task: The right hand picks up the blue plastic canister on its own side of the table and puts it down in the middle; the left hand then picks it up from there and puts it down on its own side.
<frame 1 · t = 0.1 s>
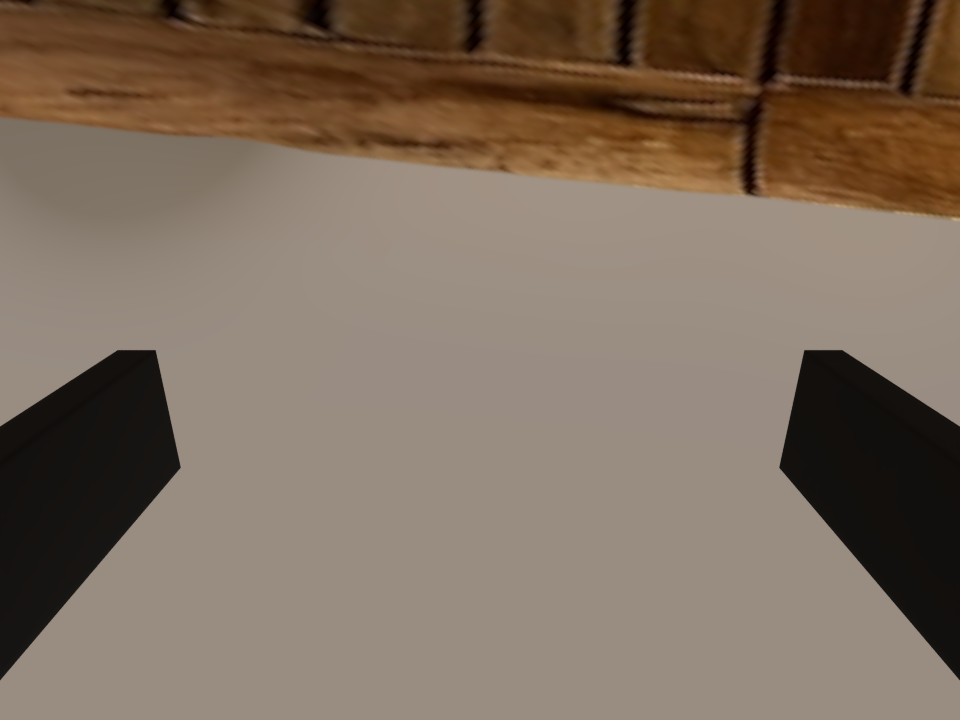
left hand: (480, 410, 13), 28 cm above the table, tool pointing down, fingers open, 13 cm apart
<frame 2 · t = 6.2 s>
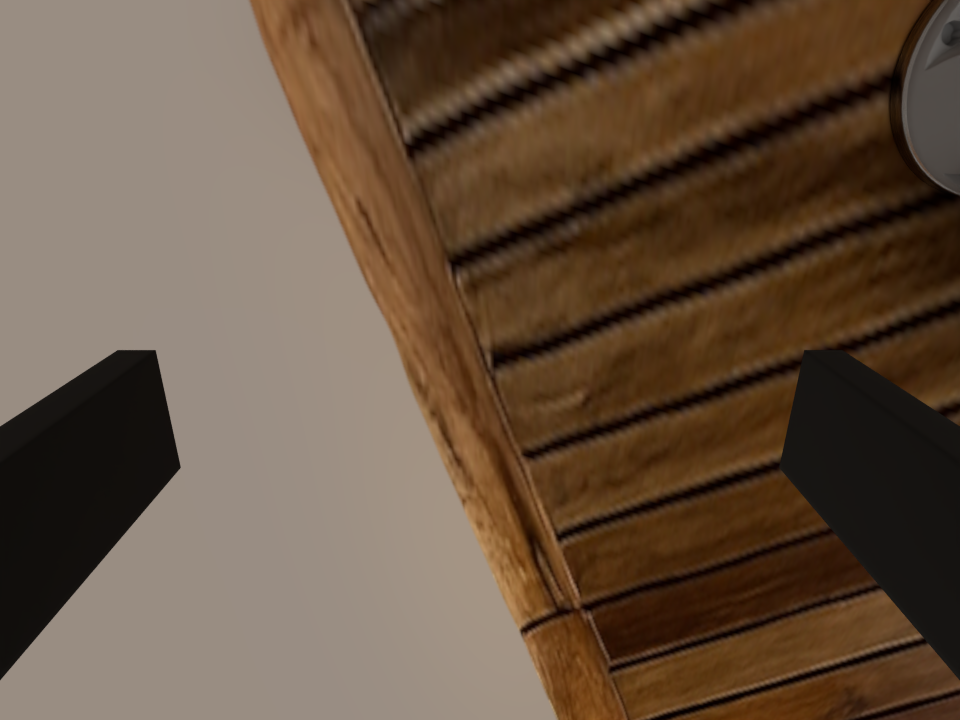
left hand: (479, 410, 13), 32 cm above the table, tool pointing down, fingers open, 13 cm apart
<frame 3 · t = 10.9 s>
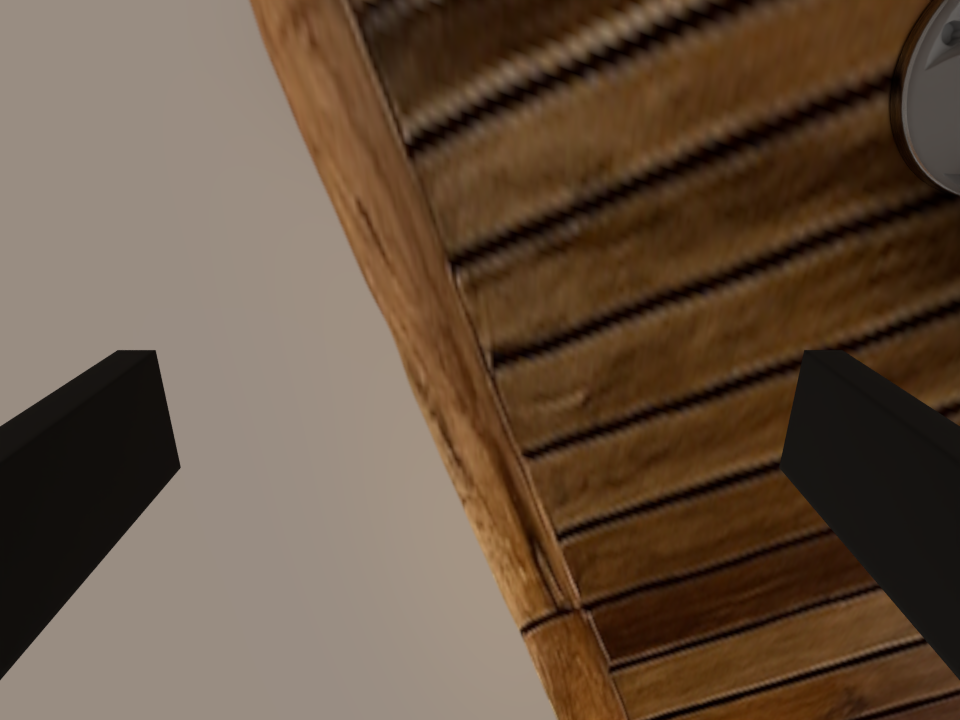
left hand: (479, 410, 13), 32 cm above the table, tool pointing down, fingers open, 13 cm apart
when the right hand's fingers open (4 cm above the table, at t = 15.5 s): canister drops 1 cm, on the table.
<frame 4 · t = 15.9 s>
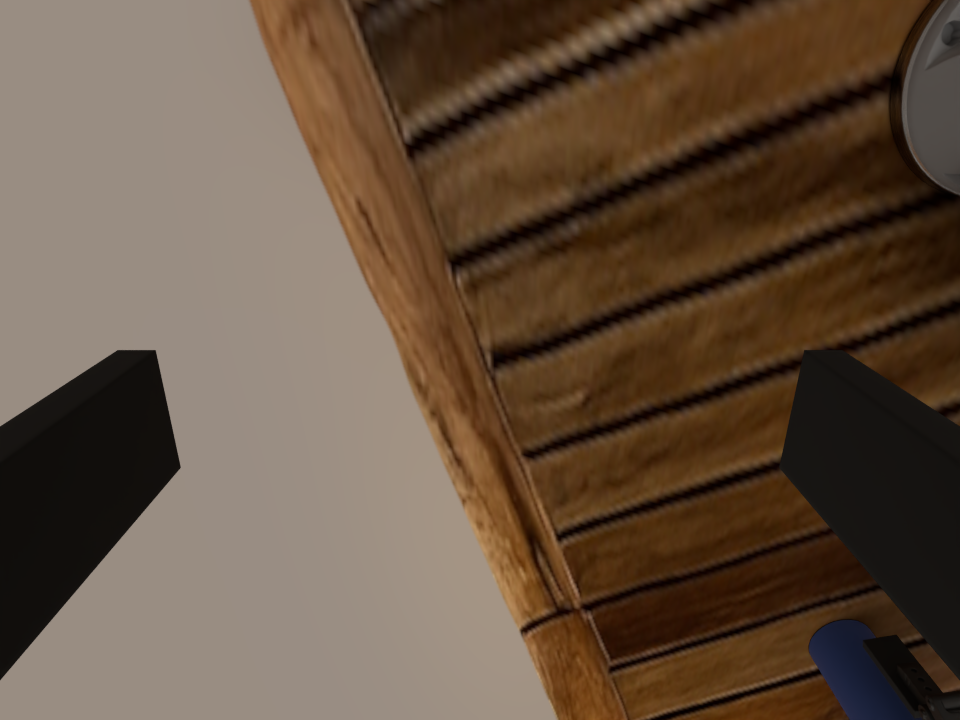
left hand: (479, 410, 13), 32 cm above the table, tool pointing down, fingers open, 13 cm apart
canister: (840, 643, 58), on the table
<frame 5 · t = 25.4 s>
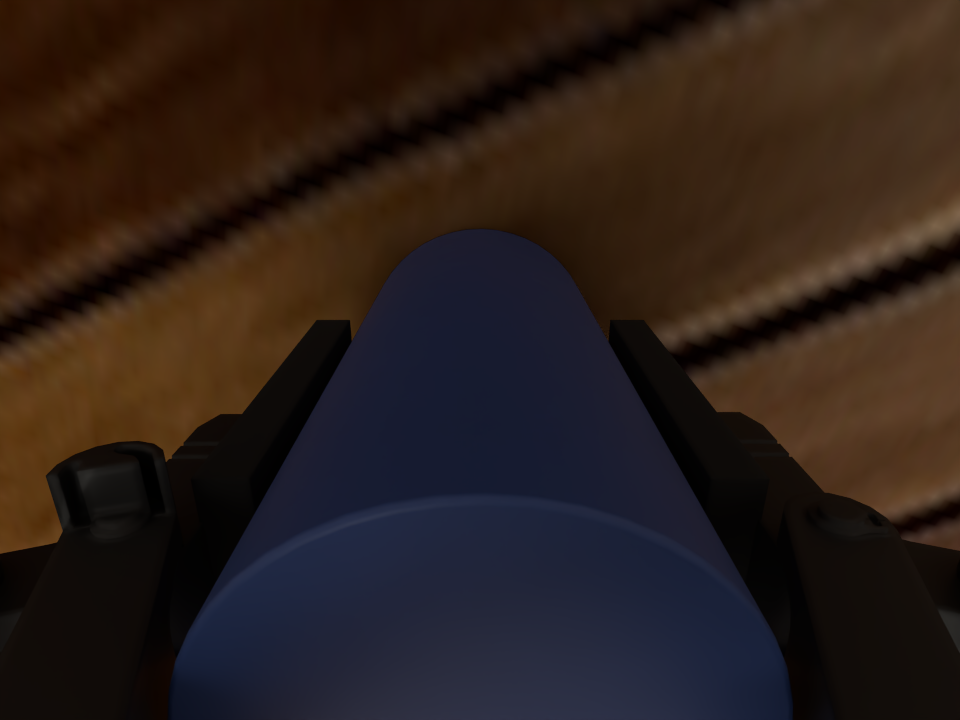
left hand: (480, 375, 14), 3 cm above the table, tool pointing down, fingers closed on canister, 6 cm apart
canister: (479, 336, 17), on the table, touching left hand
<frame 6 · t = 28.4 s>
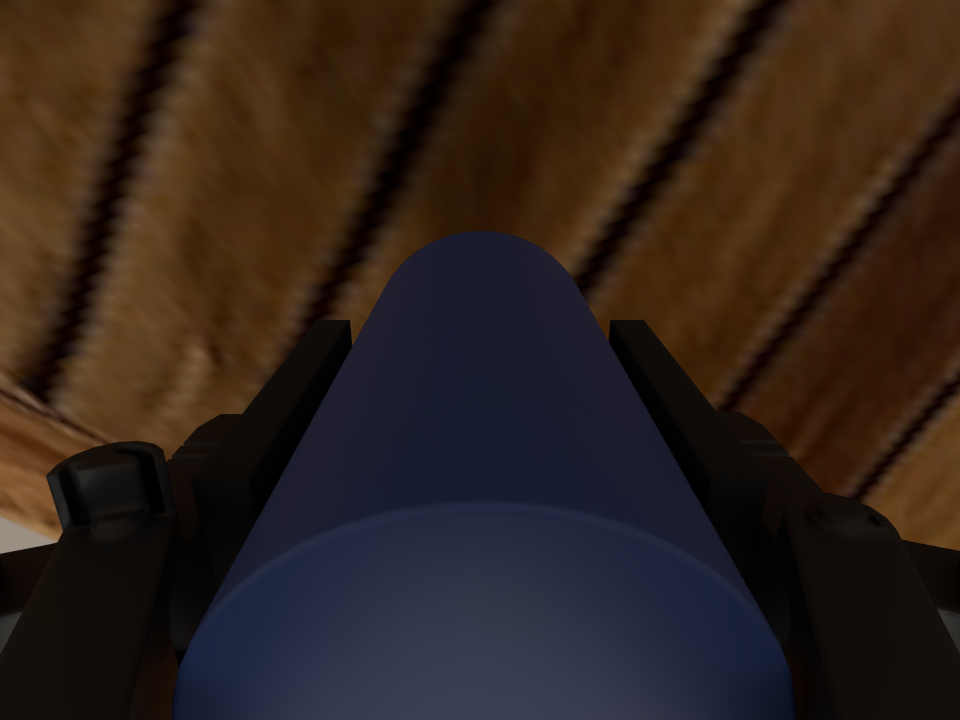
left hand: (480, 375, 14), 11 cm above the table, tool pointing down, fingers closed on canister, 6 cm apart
canister: (481, 338, 17), point 8 cm above the table, touching left hand
when the left hand's fingers open (4 cm above the table, at t = 31.9 s): canister drops 1 cm, on the table.
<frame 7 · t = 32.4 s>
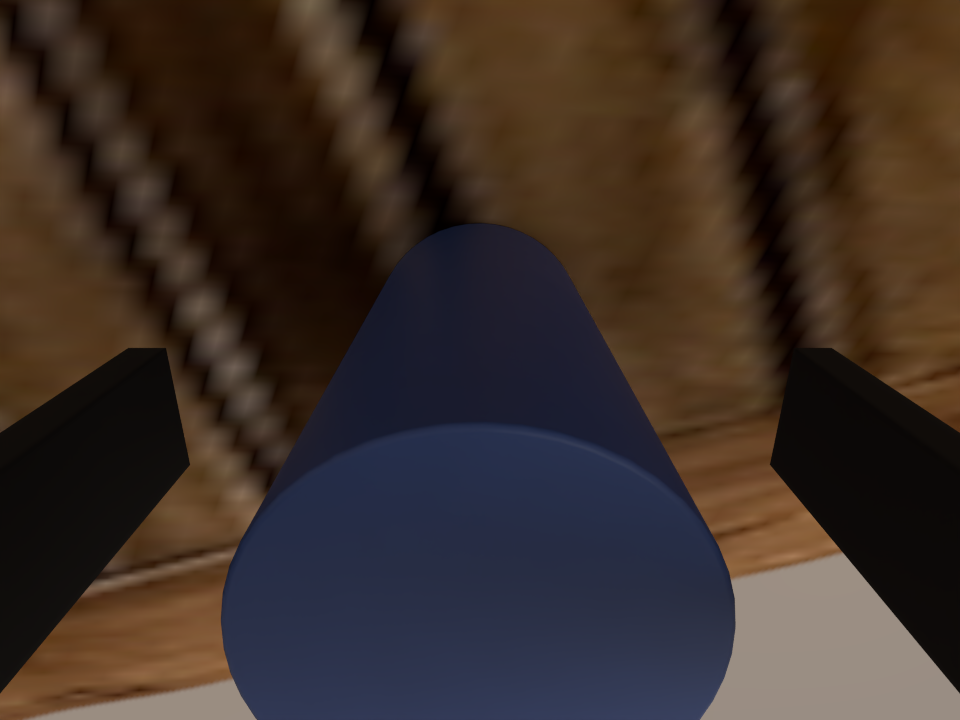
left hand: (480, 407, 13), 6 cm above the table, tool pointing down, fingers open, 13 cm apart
canister: (479, 323, 18), on the table
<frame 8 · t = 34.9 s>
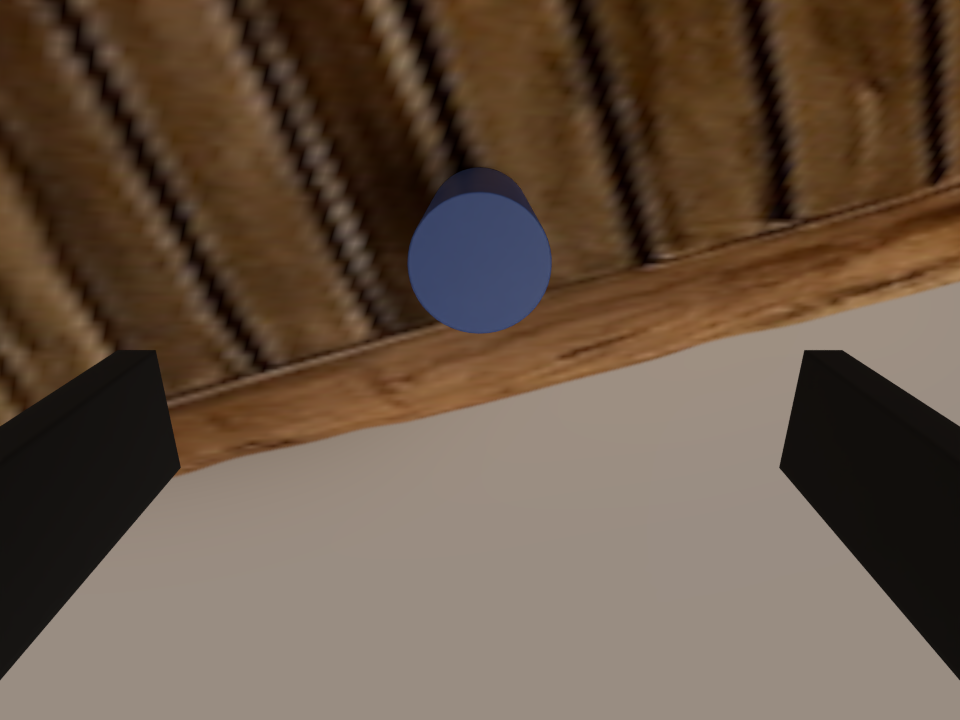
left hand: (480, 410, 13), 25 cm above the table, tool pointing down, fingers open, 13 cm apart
canister: (479, 219, 36), on the table
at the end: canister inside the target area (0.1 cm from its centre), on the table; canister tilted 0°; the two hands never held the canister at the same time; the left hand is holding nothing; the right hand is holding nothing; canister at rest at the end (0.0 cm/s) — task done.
